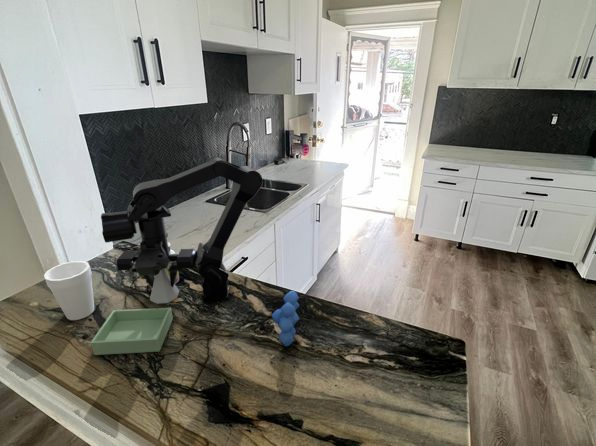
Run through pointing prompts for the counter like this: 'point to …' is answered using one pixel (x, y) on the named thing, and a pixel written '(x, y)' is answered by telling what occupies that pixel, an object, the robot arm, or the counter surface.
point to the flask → (163, 288)
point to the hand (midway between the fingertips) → (163, 286)
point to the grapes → (287, 318)
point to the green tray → (133, 331)
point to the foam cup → (72, 288)
